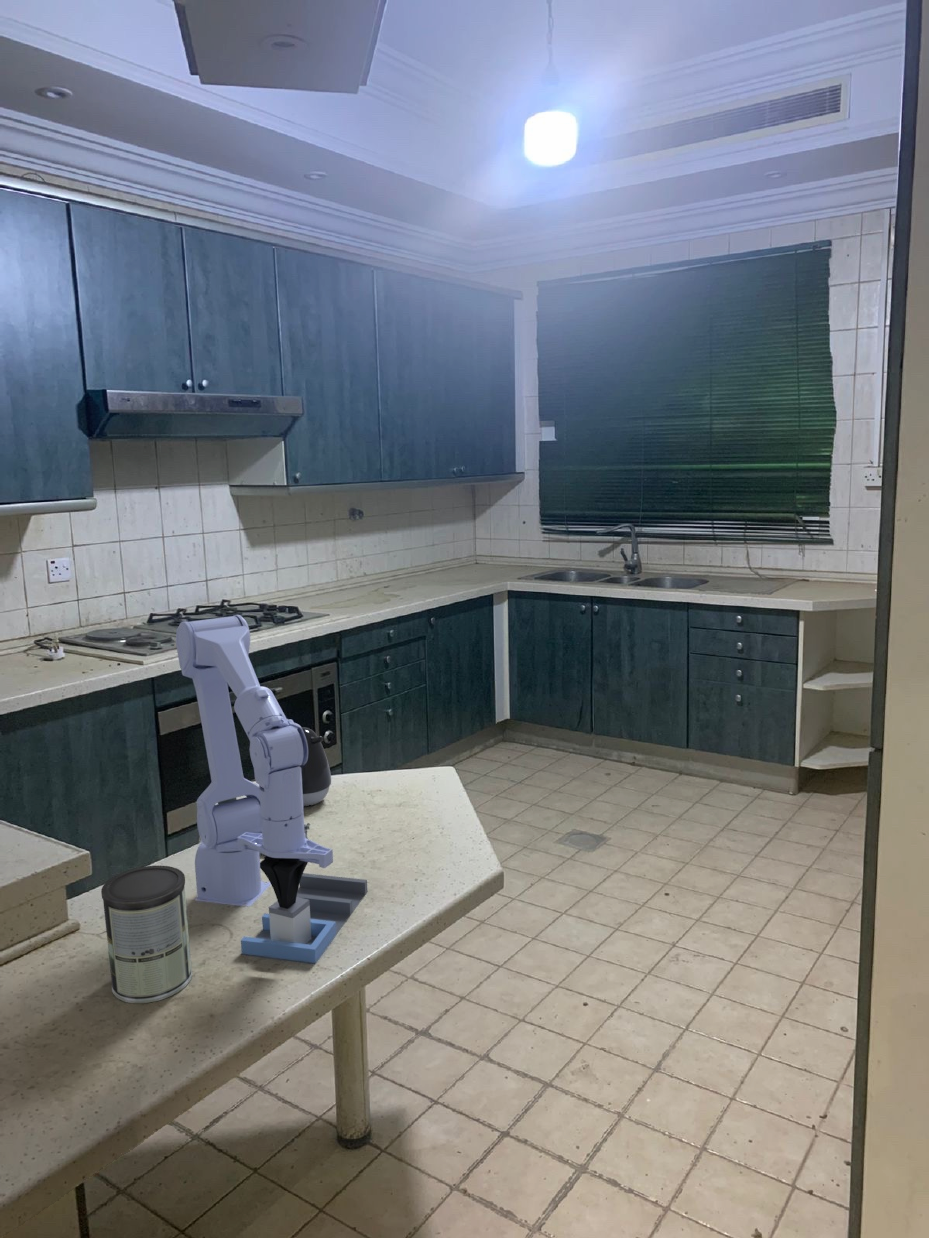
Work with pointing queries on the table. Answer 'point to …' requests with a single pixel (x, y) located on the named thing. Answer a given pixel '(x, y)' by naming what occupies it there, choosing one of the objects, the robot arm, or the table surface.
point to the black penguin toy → (315, 770)
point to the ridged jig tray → (312, 919)
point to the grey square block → (291, 922)
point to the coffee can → (147, 933)
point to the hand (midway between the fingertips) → (287, 904)
